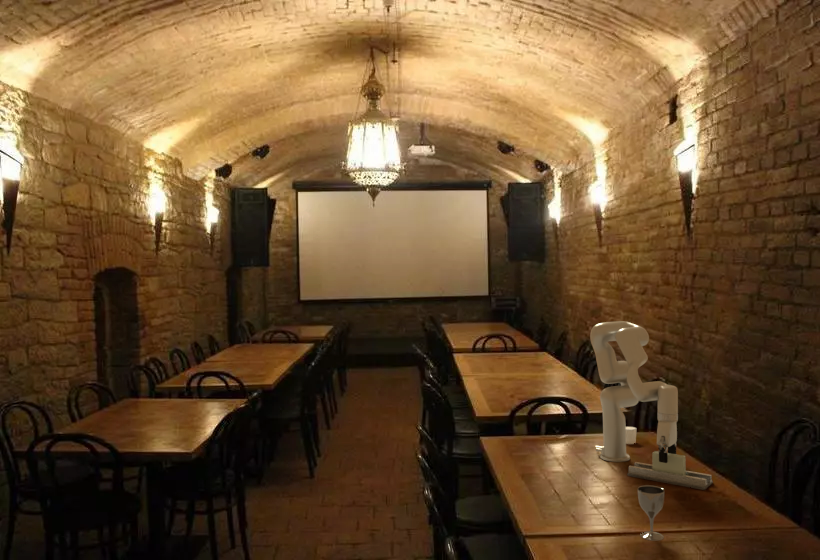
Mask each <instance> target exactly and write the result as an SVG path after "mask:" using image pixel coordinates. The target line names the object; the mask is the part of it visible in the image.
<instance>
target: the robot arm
mask: <svg viewBox="0 0 820 560" xmlns="http://www.w3.org/2000/svg"><path fill="white" fill-rule="evenodd" d="M589 338H590V343H591V346H592V349H593V351H594V353H595V360H596V365H597V369H598V375H599V378H600V381H601V382H602V383H604V384H608V385H609V384H610V385H611V384H612V385H613V384H618V383H619V384H620V385H615V386H608V387H605V388H604V389H602V390H601V391H600V394H599V401H600V404H601V410H602V412H601V413H602V434H603V435H602V437H603V439H602V440H603V445H602V446H601V445H595V451H596V452H600V455H599V457H600V459H601V460H602V461H603V460H604V461H606V462H613V463H622V462H623V463H624V462H628V461H630V459H631V456H630V455H629V453H627V444H626V427H627V426H626V424H627V423H626V416H625V414H624V412H623V410H622V409H623V408H629V407H634V406H636V405H638V403H639V402H643V403H645V402H653V401H657V421H658V423H657V427H656V428H657V431H656V445H657V446H658V452H659V462H663V463H667V462H668V453H671V454H677V446H678V445H677V441H678V439H677V438H678V431H677V430H678V428H677V427H678V426H677V423H678V421H679V414H678V413H679V407H678V406H679V403H678V402H679V393H678V387H677V386H675V385H673V384H672V385H671V384H668V383H666V382H664V381H660V380H657V381H656V380H654V381H648V382H643V381H642V380H641V379H642V378H640V375H639V368H640V367H641V366H643V365H644V364H646V363H647V361H648V358H649V357H648V354H647V353H646V351H645V349H644V346H646V345H648V343H649V341H650V336H649V333H648V331H647V329H646V328H644V327H643V326H640V325H638V324H634V323H631V322H629V321H623V320H622V321H621V320H619V321H606V322H605V321H604V322H600V323H597V324H595V325H593V327H592V328H591V330H590V335H589ZM609 342H616V344H617V345H618V347H619V349H620V351H621V354H622V355H623V357H624V359H625V360H617V356H616V351H615V349H614V347H612V345H611V344H610V343H609Z"/></svg>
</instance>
